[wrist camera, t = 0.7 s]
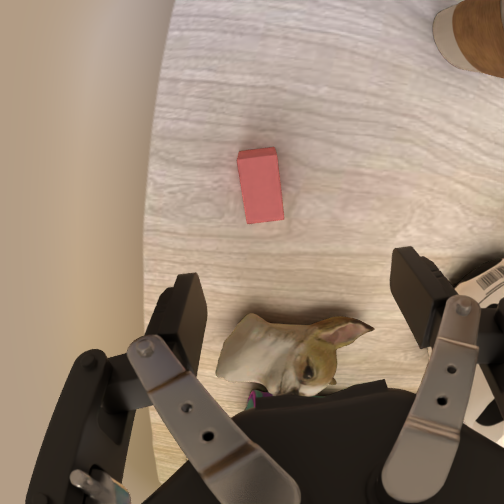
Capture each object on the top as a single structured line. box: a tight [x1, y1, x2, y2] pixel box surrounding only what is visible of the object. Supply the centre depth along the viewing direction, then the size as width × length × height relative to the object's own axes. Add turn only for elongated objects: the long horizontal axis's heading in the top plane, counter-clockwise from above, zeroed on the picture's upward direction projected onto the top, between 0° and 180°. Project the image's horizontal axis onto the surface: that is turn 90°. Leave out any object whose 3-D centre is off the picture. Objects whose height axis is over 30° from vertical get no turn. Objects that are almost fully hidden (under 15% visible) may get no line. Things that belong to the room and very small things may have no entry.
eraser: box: [237, 147, 284, 224], centre depth 24 cm, size 5×3×3 cm, turn 8°
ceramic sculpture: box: [216, 313, 375, 396], centre depth 29 cm, size 11×9×15 cm
